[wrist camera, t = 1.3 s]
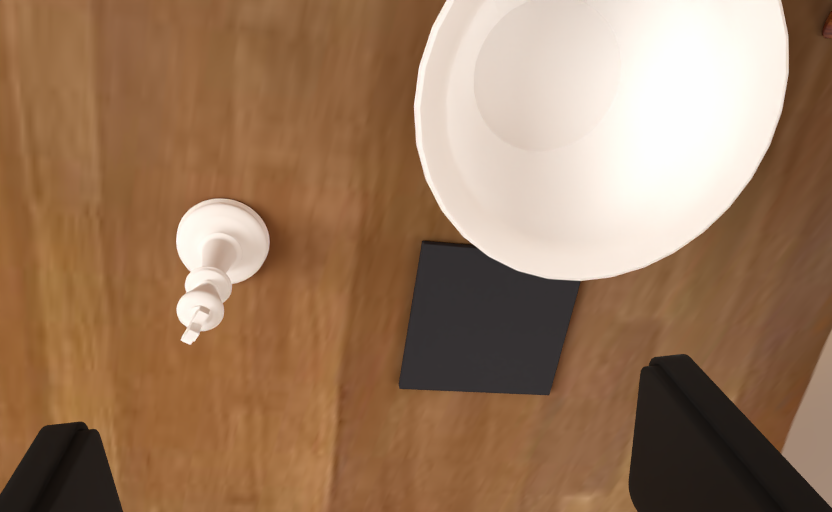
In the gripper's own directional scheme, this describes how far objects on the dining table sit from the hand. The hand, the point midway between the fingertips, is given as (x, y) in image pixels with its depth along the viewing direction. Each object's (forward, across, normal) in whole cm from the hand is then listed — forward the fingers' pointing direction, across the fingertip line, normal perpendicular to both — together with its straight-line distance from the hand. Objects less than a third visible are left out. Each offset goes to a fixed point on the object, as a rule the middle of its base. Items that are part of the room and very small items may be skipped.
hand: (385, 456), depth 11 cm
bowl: (+26, -11, -2) cm, 28 cm away
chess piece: (+26, +7, +6) cm, 27 cm away
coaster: (+26, -8, +13) cm, 30 cm away
